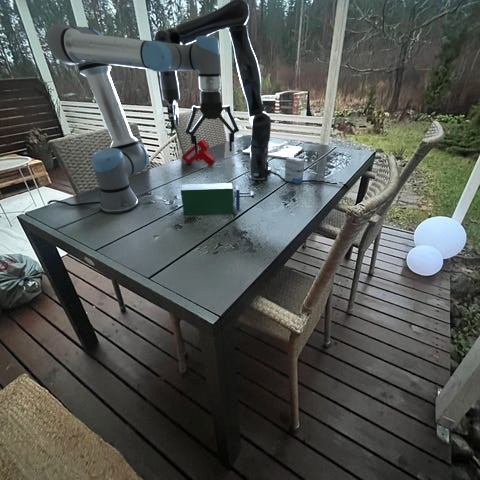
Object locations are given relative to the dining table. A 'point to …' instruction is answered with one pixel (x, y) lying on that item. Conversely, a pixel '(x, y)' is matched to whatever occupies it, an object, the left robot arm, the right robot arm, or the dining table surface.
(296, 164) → the ink box
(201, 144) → the toy gun
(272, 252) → the dining table surface
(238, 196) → the drawer
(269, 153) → the relief map
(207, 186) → the cabinet
